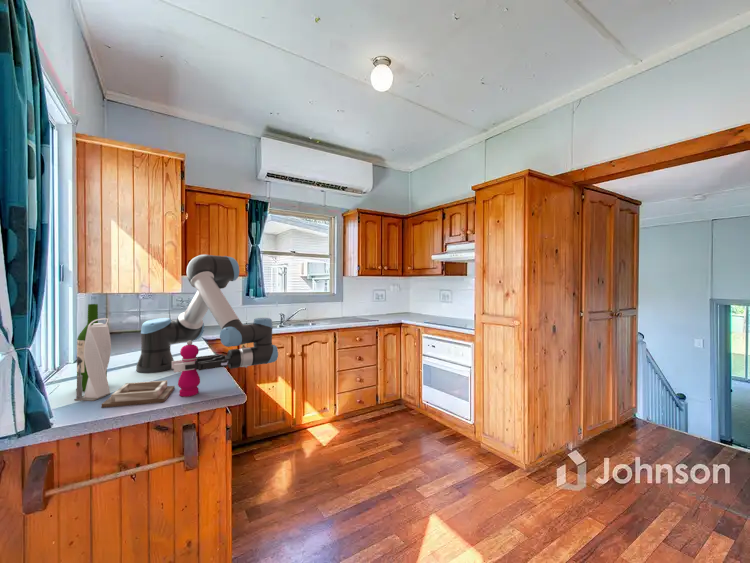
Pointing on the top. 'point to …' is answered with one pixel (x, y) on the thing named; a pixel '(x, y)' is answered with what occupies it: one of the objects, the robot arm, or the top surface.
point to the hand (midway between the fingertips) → (173, 366)
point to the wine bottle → (81, 342)
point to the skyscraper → (95, 362)
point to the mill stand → (139, 394)
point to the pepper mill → (189, 371)
